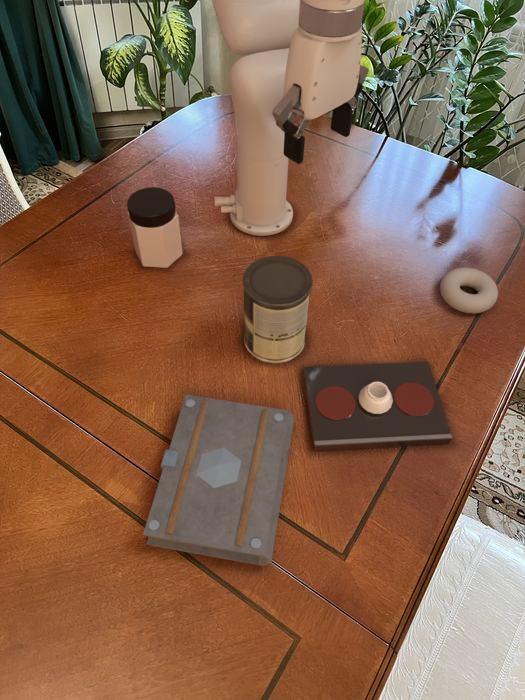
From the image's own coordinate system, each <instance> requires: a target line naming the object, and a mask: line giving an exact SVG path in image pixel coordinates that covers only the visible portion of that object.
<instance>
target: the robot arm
mask: <svg viewBox="0 0 525 700" xmlns="http://www.w3.org/2000/svg"><path fill="white" fill-rule="evenodd" d="M211 3H212V7H213V10H214V13H215V16H216V18H217V19H216V20H217V22H218V26H219V29H220V32H221V36H222V38H223V41H224V43H225V45H226V46H227V49H228V50H229V51H230V52H232V53H233V54H235V55H238V56H242V57H240V58H238V59H237V60H236V61H235V62H234V64H233V65H232V66H231V68H230V71H229V76H228V77H229V78H228V79H229V80H228V82H229V90H230V96H231V101H232V106H233V113H234V121H235V138H236V139H235V140H236V142H235V143H236V145H235V147H236V187H237V188H236V189H235V191H234V194H230V196H224V195H223V196H214V197H213V199H214V207H217V208H219V207H220V213H221V214H229V217H230V221H231V223H232V224H233V226H234V227H235V228H237V229H238V230H239V231H241V232H242V233H245V234H248V235H251V236H258V237H267V236H273V235H276V234H279V233H282V232H283V231H285V230H286V229H287V228H289V227H290V225H291V224H292V222H293V218H294V209H293V206H292V205H291V203H290V202H289V201H288V200H287V191H288V176H289V175H288V174H289V162H290V161H289V160H291V161H293V162H294V163H295V164H297V165H300V164H302V163H303V162H304V156H305V155H304V153H305V142H306V137H305V136H304V135H303V134H304V133H305V130H306V128H307V126H308V124H309V123H310V121H312V120H315V119H317V118H319V117H321V116H323V115H326V114H327V113H329V112H331V111H332V113H331V120H330V130H331V131H333V132H335V133H336V134H339V135H340V136H342V137H344V138H348V137H349V136H350V135H351V129H352V123H353V116H354V109H356V107H357V105H358V100H357V99H359V98H358V97H359V96H360V95H361V93H362V91H363V89H364V85H363V84H364V83H365V81H366V78H367V76H368V74H369V72H370V69H369V67H368V66H365V65H362V64H361V62H362V49H363V18H364V10H365V3H366V0H211ZM297 116H299V117H300V119H299V121H298V123H297V125H295V124H294V121H295V119H296V117H297Z"/></svg>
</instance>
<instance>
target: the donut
mask: <svg viewBox="0 0 525 700" xmlns="http://www.w3.org/2000/svg"><path fill="white" fill-rule="evenodd" d="M497 286H498V285H497V284H496V282H495V281H494V279H493V278H492V277H491V276H490V275H488V274H487V273H486V272H484V271H481V270H479V269H477V268H473V267H457V268H453V269H451V270H450V271H448V272H446V273H445V275H444V276H443V277H442V278H441V280H440V284H439V291H440V295H441V297H442V299H443V301H444V302H445V303H446V304H447V305H449V306H450V308H453V309H454V310H456V311H459V312H462V313H465V314H480V313H485V312H487V311H488V310H490V309H492V308H493V307H494V305H495V304H496V302H497V301H498V298H499V290H498V287H497ZM461 287H469V288H471V289H473V290H474V291H476V293H475V294H473V293H468V292H465V291H464V290H463V289H462V288H461Z"/></svg>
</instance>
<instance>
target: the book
mask: <svg viewBox="0 0 525 700" xmlns="http://www.w3.org/2000/svg"><path fill="white" fill-rule="evenodd" d="M295 417H296V416H295V415H294V414H293V413H292V412H291V411H290V410H288V409H282V408H276V407H269V406H261V405H256V404H249V403H244V402H243V403H242V402H237V401H230V400H224V399H217V398H210V397H204V396H197V395H192V394H185V396H184V399H183V402H182V406H181V408H180V413H179V416H178V418H177V422H176V425H175V429H174V431H173V435H172V439H171V441H170V444H169V448H168V449H165V450H164V453H163V456H162V459H161V463H160V468H161V475H160V477H159V479H158V480H159V481H158V484H157V488H156V491H155V494H154V497H153V501H152V503H151V507H150V510H149V513H148V516H147V520H146V523H145V527H144V530H143V533H142V535H143V536H144V537H147V540H146V545H147V546H152V547H157V548H163V549H169V550H173V551H178V552H185V553H189V554H196V555H201V556H206V557H212V558H217V559H223V560H228V561H232V562H233V561H234V562H238V563H239V562H240V563H243V564H244V563H245V564H249V565H255V566H262V567H265V566H266V567H267V566H268V565H271V564H272V561H273V556H274V555H273V554H274V550H275V549H274V548H275V543H276V536H277V530H278V523H279V518H280V512H281V506H282V504H281V503H282V499H283V492H284V487H285V486H284V485H285V480H286V473H287V467H288V462H289V455H290V449H291V442H292V436H293V429H294V424H295Z"/></svg>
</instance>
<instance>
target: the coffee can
mask: <svg viewBox="0 0 525 700" xmlns="http://www.w3.org/2000/svg"><path fill="white" fill-rule="evenodd" d="M313 282H314V280H313V275H312V273H311V271H310V270H309V268H308V267H307V266H306V265H305V264H304V263H303V262H301V261H299V260H296V259H295V258H292V257H289V256H284V255H269V256H265V257H264V256H263V257H262V258H259V259H256V260H255V261H253V262H252V263H251V264H249V266H247V268H246V269H245V271H244V273H243V276H242V287H243V316H244V317H243V319H244V320H243V321H244V322H243V323H244V326H243V328H244V336H243V341H244V342H243V343H244V346H245V349H246V350H247V352H248V353H250V355H251V356H252V357H254V358H255V359H257V360H259V361H262V362H264V363H269V364H282V363H287V362H289V361H291V360H293V359H296V357H298V356H299V355H300V354H301V352H302V351H303V349H304V347H305V344H306V334H307V333H306V332H307V325H308V317H309V309H310V302H311V301H310V299H311V294H312V293H311V292H312V289H313V284H314V283H313Z"/></svg>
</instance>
